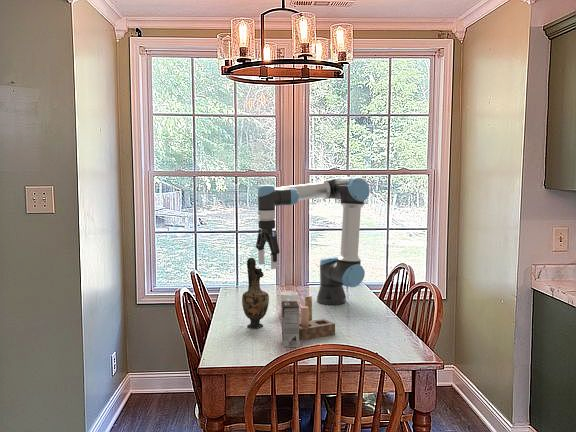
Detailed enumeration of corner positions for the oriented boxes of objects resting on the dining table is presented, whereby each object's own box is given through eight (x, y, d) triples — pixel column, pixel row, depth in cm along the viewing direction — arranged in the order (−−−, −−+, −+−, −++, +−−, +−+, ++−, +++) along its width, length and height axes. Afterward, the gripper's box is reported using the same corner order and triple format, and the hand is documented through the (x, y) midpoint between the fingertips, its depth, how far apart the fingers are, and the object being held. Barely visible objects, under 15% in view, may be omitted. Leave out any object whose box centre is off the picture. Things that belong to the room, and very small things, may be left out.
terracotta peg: (306, 334, 229) (306, 306, 228) (310, 336, 227) (310, 307, 226) (299, 335, 228) (299, 307, 227) (303, 337, 225) (303, 308, 224)
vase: (248, 331, 234) (247, 262, 231) (237, 324, 245) (236, 258, 242) (273, 327, 239) (272, 259, 237) (261, 320, 250) (260, 255, 247)
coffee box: (281, 340, 222) (281, 301, 221) (297, 339, 223) (297, 300, 221) (283, 347, 213) (282, 306, 212) (299, 346, 214) (299, 306, 212)
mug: (296, 319, 252) (296, 297, 252) (278, 318, 253) (278, 296, 252) (298, 312, 264) (298, 291, 263) (281, 312, 265) (281, 291, 264)
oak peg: (309, 321, 249) (309, 295, 248) (313, 323, 246) (313, 296, 245) (303, 322, 247) (303, 296, 246) (307, 324, 244) (307, 297, 243)
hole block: (323, 328, 237) (323, 318, 236) (335, 334, 229) (335, 323, 229) (291, 334, 229) (291, 323, 229) (301, 340, 221) (301, 329, 221)
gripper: (248, 217, 255) (249, 263, 257) (270, 222, 233) (271, 271, 235) (263, 217, 258) (263, 261, 260) (286, 221, 236) (287, 270, 238)
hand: (267, 266), depth 247 cm, fingers open, 13 cm apart
